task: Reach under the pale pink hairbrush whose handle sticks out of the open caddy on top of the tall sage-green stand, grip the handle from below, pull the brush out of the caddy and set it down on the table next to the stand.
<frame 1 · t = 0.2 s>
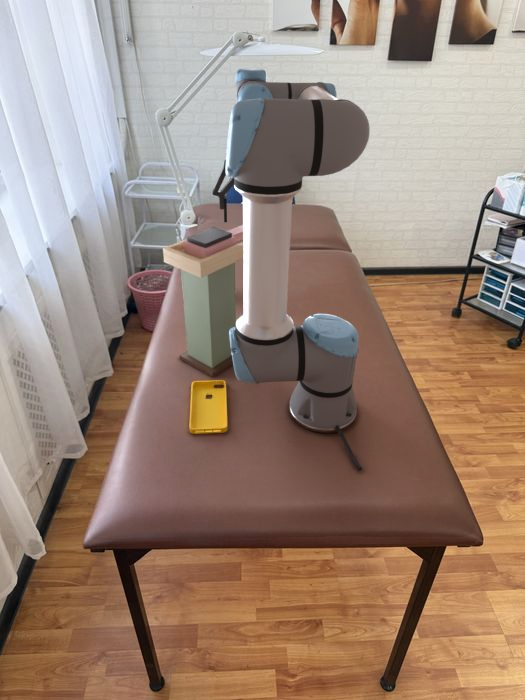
hand: (250, 220, 140), 28 cm above the table, tool pointing down, fingers open, 13 cm apart
stand: (212, 357, 133), on the table
phone case: (208, 408, 117), on the table
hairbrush: (225, 243, 120), point 30 cm above the table, touching stand
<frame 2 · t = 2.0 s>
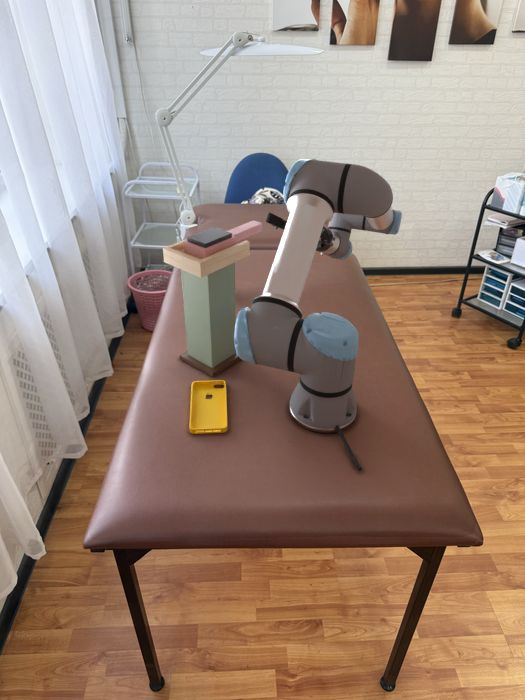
hand: (287, 223, 137), 28 cm above the table, tool pointing upward, fingers open, 13 cm apart
nothing on the table moved.
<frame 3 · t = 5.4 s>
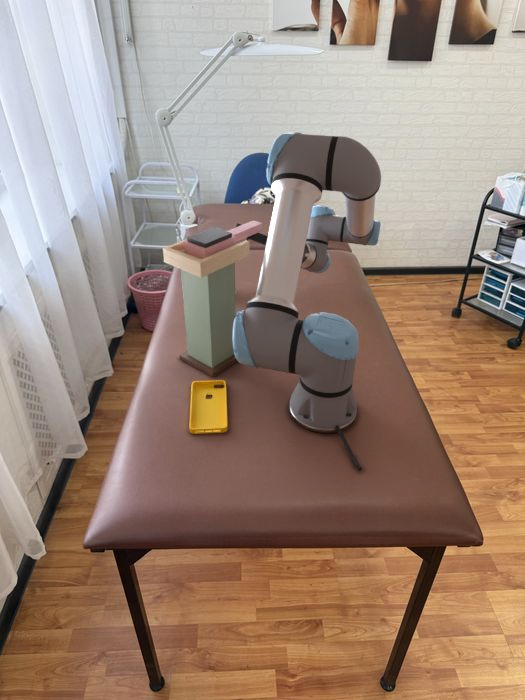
hand: (256, 235, 128), 29 cm above the table, tool pointing upward, fingers open, 13 cm apart
nothing on the table moved.
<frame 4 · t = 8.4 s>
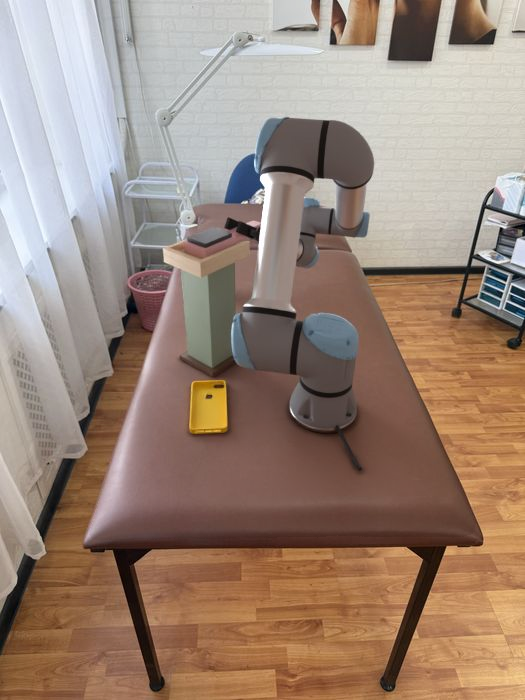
hand: (232, 224, 120), 34 cm above the table, tool pointing upward, fingers closed on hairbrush, 3 cm apart
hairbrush: (225, 243, 120), point 30 cm above the table, touching gripper, stand
everything else where it was.
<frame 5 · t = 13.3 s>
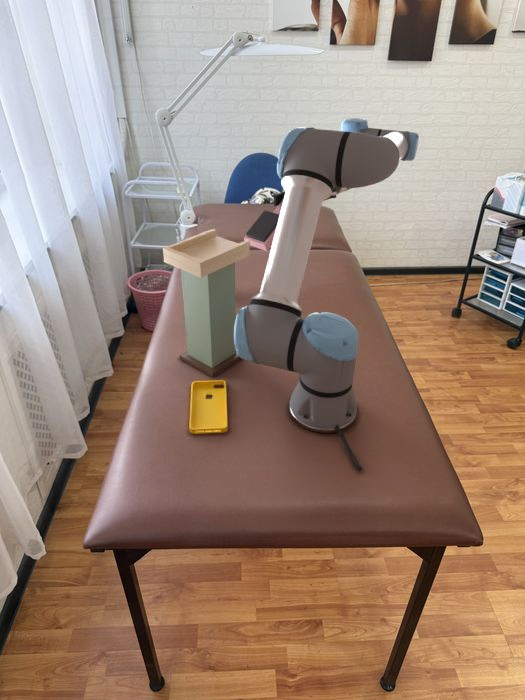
hand: (280, 202, 131), 35 cm above the table, tool horizontal, fingers closed on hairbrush, 3 cm apart
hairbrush: (278, 220, 133), point 30 cm above the table, tilted 30°, touching gripper
everything else where it was.
when the fingers open (10 cm above the table, at t = 18.7 s): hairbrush drops 5 cm, on the table.
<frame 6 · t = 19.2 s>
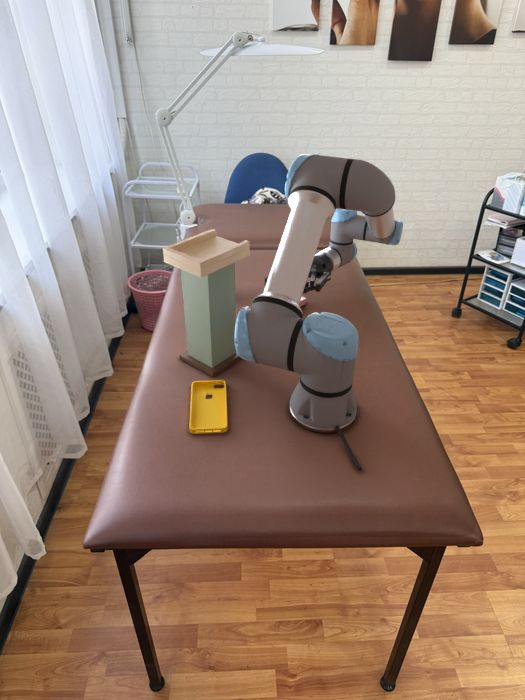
hand: (279, 288, 146), 9 cm above the table, tool horizontal, fingers open, 10 cm apart
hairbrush: (278, 316, 151), on the table
everything else where it was.
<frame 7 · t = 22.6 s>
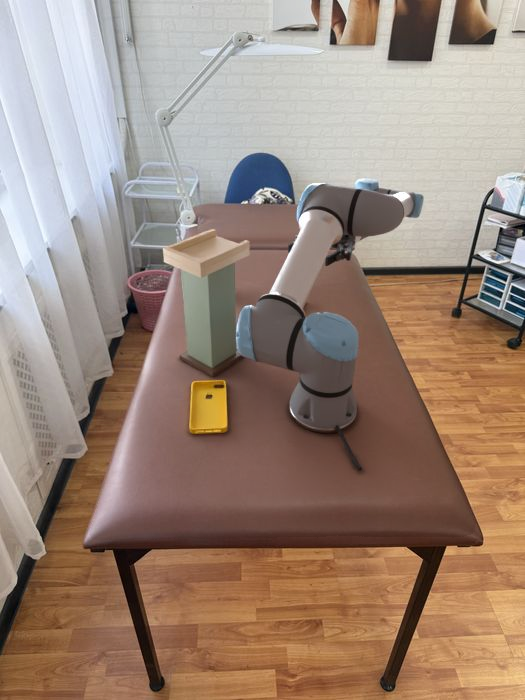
hand: (307, 255, 151), 15 cm above the table, tool horizontal, fingers open, 13 cm apart
nothing on the table moved.
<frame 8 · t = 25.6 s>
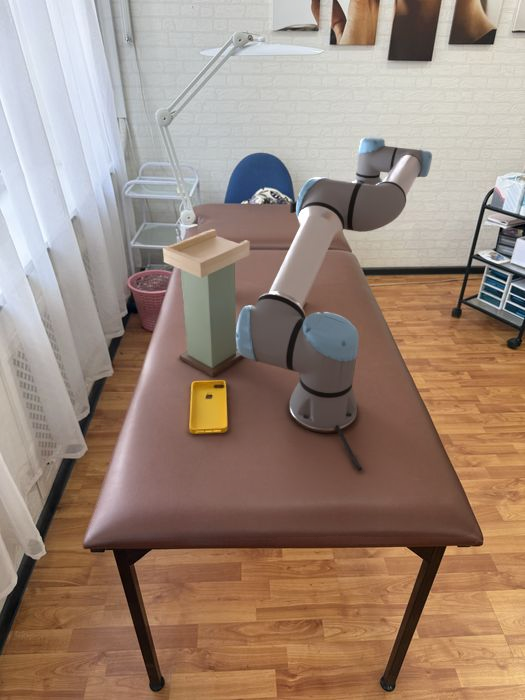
hand: (310, 213, 144), 28 cm above the table, tool horizontal, fingers open, 13 cm apart
nothing on the table moved.
at the end: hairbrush inside the target area (1.7 cm from its centre), on the table; the gripper is holding nothing; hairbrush tilted 0° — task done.
